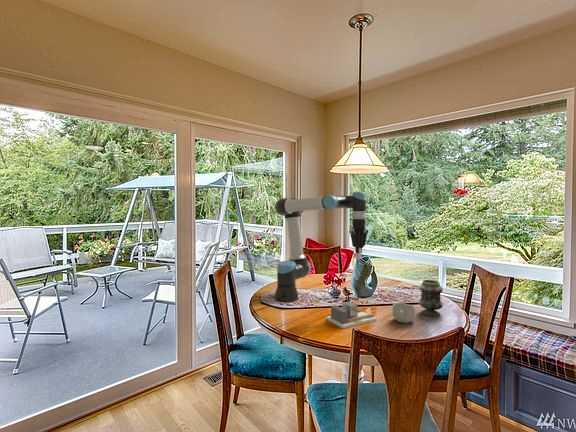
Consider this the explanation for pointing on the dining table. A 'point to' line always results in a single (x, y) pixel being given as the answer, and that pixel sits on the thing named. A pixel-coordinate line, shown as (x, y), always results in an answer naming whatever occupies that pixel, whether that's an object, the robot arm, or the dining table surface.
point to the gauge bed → (341, 317)
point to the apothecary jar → (430, 297)
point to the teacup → (403, 312)
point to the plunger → (351, 309)
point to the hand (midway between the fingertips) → (358, 258)
